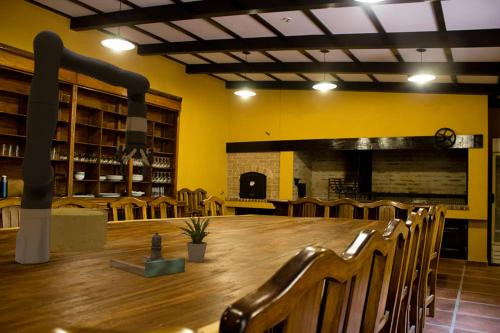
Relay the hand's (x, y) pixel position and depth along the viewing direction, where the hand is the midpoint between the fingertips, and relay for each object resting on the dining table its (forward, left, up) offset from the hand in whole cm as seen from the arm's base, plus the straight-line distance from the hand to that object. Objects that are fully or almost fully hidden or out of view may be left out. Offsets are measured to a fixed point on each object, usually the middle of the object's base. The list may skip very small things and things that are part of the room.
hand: (134, 175), depth 153 cm
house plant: (+15, -20, -29) cm, 38 cm away
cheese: (-5, +33, -30) cm, 45 cm away
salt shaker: (-7, -26, -30) cm, 40 cm away
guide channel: (-7, -21, -29) cm, 36 cm away
